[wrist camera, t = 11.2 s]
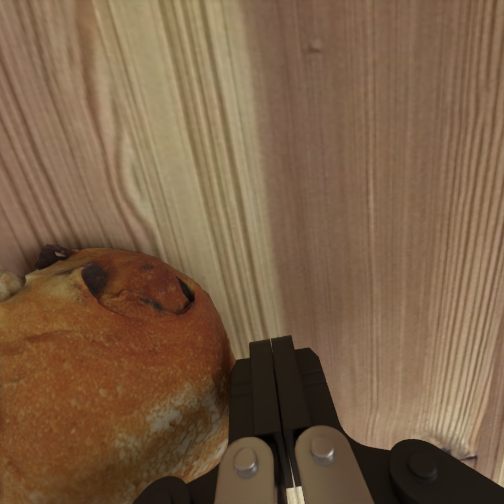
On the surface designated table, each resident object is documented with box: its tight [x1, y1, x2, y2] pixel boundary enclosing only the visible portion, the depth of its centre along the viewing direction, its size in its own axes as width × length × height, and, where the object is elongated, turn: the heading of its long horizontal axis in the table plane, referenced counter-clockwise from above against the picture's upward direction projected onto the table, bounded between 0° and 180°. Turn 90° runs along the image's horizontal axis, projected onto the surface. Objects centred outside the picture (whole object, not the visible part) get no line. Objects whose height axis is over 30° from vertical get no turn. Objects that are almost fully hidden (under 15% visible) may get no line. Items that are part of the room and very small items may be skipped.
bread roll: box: [0, 244, 236, 504], centre depth 12 cm, size 10×10×8 cm
